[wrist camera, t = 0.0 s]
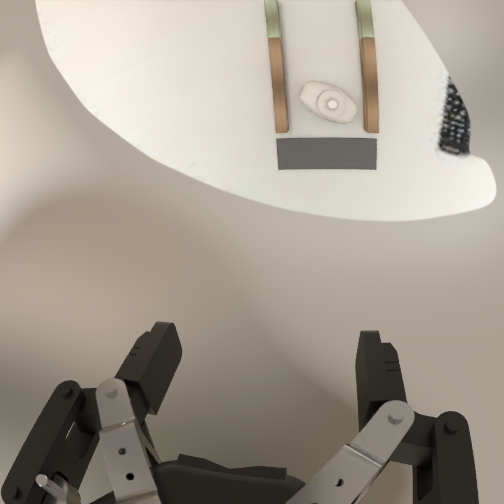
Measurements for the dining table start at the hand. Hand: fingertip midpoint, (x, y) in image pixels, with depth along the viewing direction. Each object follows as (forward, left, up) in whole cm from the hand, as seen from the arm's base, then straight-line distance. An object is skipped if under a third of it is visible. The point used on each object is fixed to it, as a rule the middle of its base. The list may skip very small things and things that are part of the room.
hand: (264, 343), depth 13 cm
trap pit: (-2, +4, -29) cm, 30 cm away
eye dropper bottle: (-8, +4, -30) cm, 31 cm away
